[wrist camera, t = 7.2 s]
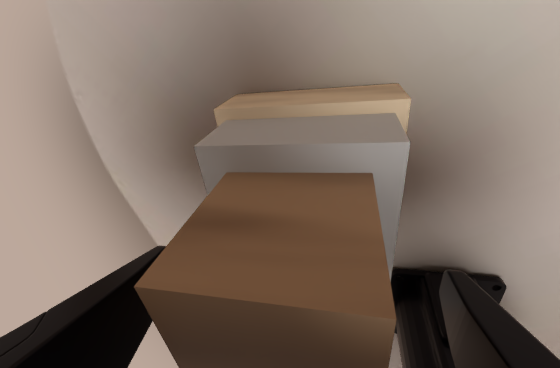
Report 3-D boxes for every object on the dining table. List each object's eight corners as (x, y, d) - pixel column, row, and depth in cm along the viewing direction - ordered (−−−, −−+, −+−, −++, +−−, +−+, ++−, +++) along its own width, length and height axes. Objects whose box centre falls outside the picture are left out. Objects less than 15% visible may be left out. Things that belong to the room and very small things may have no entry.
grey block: (380, 248, 14) (387, 299, 11) (251, 239, 15) (232, 282, 13) (395, 112, 10) (410, 141, 8) (226, 120, 12) (193, 146, 9)
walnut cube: (365, 281, 11) (375, 441, 7) (249, 269, 12) (197, 400, 8) (372, 172, 8) (396, 318, 4) (226, 172, 10) (133, 286, 5)
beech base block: (383, 220, 16) (390, 256, 14) (258, 215, 18) (244, 245, 16) (398, 83, 12) (411, 98, 10) (237, 94, 14) (213, 109, 12)
